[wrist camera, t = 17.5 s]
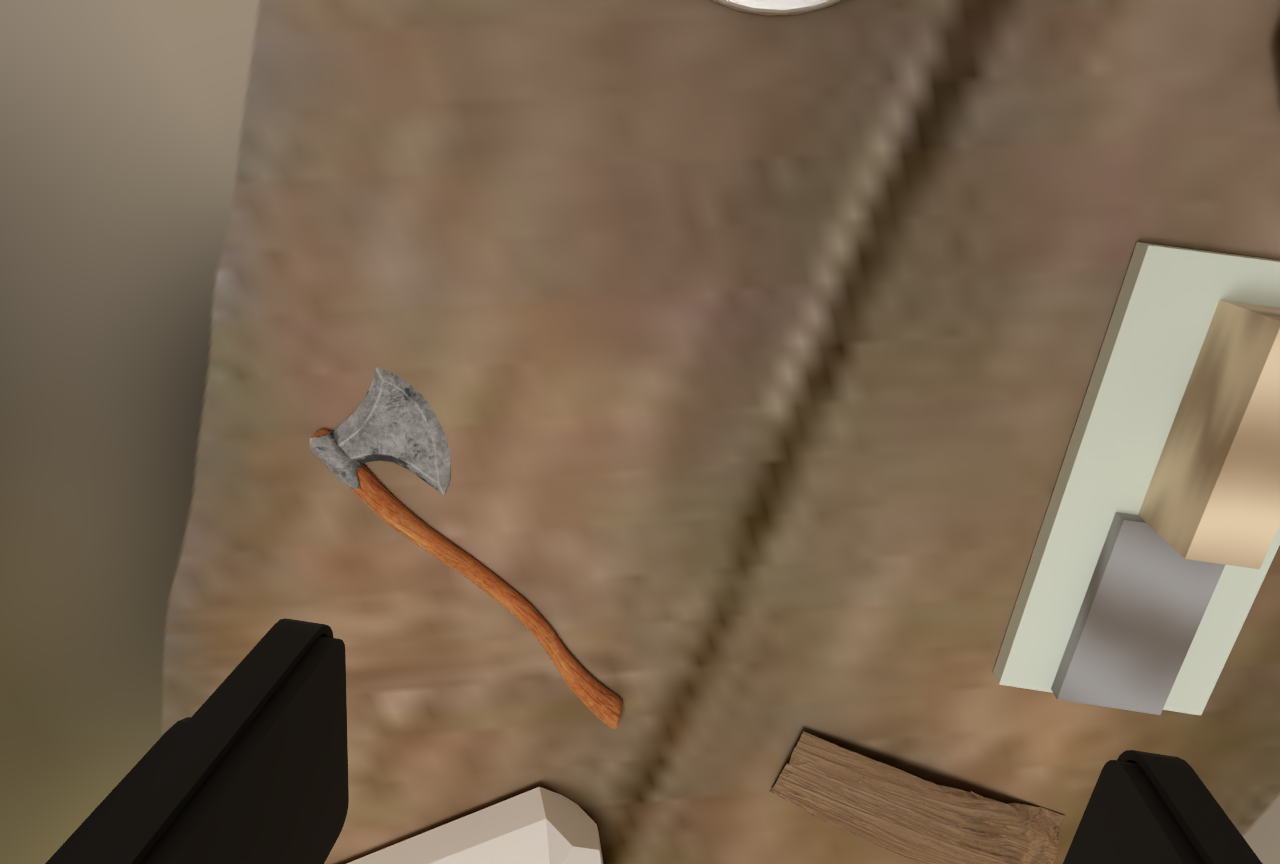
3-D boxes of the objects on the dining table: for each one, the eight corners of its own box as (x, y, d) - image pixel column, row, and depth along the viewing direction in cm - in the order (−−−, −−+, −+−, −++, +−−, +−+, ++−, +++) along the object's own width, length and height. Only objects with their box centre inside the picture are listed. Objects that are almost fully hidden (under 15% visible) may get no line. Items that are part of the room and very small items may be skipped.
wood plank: (802, 714, 45) (769, 778, 47) (803, 739, 43) (769, 805, 45) (1066, 814, 44) (1023, 875, 46) (1079, 844, 42) (1033, 907, 44)
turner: (1194, 296, 33) (1254, 318, 30) (1319, 312, 33) (1395, 336, 29) (1050, 688, 41) (1084, 745, 37) (1152, 704, 40) (1196, 762, 37)
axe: (699, 659, 43) (697, 680, 42) (613, 717, 46) (608, 738, 44) (392, 356, 39) (376, 367, 38) (314, 436, 41) (296, 449, 40)
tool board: (1136, 242, 34) (1148, 245, 33) (1383, 273, 33) (1402, 277, 32) (992, 672, 42) (999, 684, 41) (1190, 702, 41) (1201, 715, 40)
